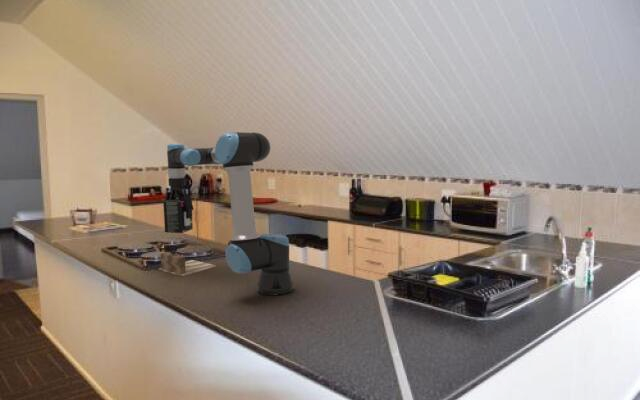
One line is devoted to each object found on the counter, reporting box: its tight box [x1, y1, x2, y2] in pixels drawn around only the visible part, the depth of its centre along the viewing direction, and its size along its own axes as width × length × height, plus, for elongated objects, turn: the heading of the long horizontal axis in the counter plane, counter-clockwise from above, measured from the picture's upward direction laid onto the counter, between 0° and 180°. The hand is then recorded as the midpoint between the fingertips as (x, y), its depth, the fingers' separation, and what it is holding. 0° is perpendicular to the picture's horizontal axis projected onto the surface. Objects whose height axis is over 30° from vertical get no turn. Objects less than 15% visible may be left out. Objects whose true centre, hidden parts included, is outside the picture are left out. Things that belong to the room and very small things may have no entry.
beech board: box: [158, 252, 217, 277], centre depth 235 cm, size 18×20×8 cm
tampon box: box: [163, 198, 194, 234], centre depth 229 cm, size 11×9×15 cm
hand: (178, 224), depth 229 cm, fingers closed on tampon box, 11 cm apart
